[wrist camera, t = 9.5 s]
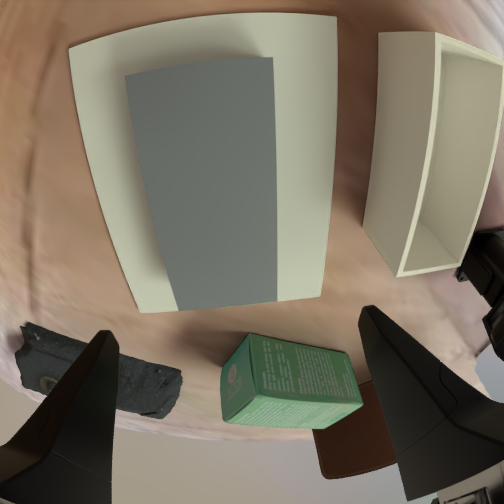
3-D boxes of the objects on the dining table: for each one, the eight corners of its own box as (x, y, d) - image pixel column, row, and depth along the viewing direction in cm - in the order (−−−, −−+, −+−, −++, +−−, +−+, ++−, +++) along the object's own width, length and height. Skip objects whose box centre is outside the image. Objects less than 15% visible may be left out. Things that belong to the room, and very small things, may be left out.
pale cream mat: (334, 17, 13) (336, 16, 13) (319, 293, 26) (320, 296, 26) (71, 48, 12) (68, 48, 12) (141, 310, 25) (140, 313, 25)
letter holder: (305, 401, 41) (323, 486, 30) (426, 354, 38) (460, 431, 26) (318, 419, 47) (333, 488, 35) (420, 379, 44) (447, 444, 32)
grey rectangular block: (264, 57, 14) (272, 57, 12) (271, 275, 24) (277, 301, 22) (139, 73, 14) (124, 75, 12) (181, 284, 24) (178, 310, 21)
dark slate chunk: (165, 411, 40) (164, 438, 36) (32, 373, 33) (24, 399, 29) (191, 365, 32) (191, 401, 28) (15, 311, 25) (0, 343, 21)
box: (245, 329, 28) (253, 398, 22) (348, 350, 33) (366, 404, 27) (217, 366, 32) (220, 426, 26) (313, 380, 37) (325, 430, 31)
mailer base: (446, 50, 14) (506, 62, 9) (421, 223, 23) (460, 266, 18) (378, 32, 14) (435, 31, 9) (362, 227, 22) (395, 277, 18)
